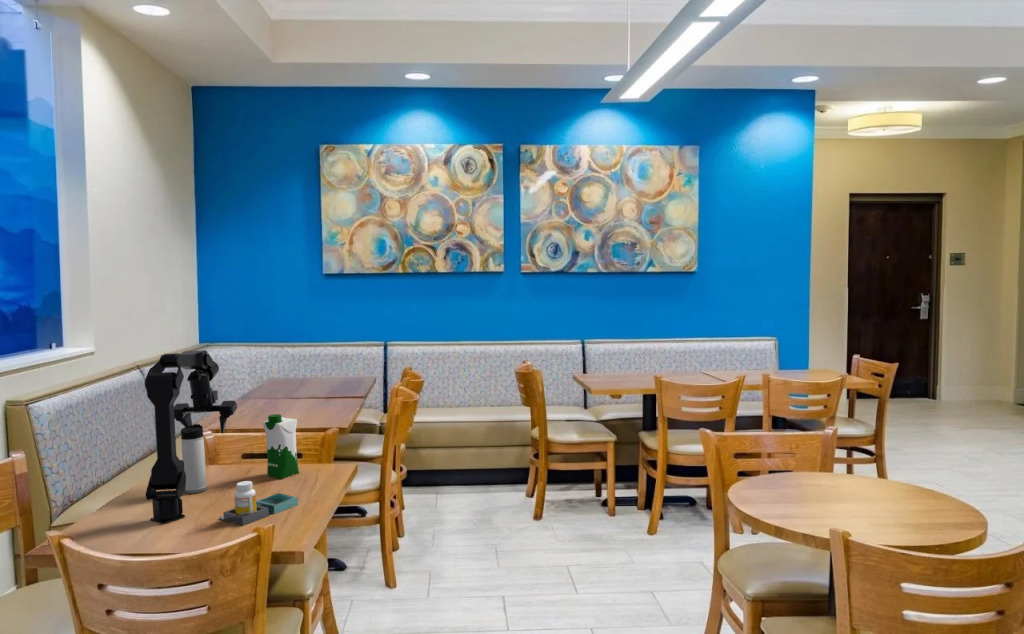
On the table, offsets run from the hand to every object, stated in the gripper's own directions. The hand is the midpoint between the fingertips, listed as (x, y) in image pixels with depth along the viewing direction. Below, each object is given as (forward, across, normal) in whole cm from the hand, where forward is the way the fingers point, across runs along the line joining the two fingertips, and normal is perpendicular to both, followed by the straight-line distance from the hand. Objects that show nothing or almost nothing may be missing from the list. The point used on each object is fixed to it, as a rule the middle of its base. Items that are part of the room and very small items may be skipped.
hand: (208, 433), depth 230 cm
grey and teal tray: (+7, -23, +36) cm, 43 cm away
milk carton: (+16, -22, +2) cm, 27 cm away
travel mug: (+13, +2, +13) cm, 18 cm away
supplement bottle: (+6, -20, +40) cm, 46 cm away
